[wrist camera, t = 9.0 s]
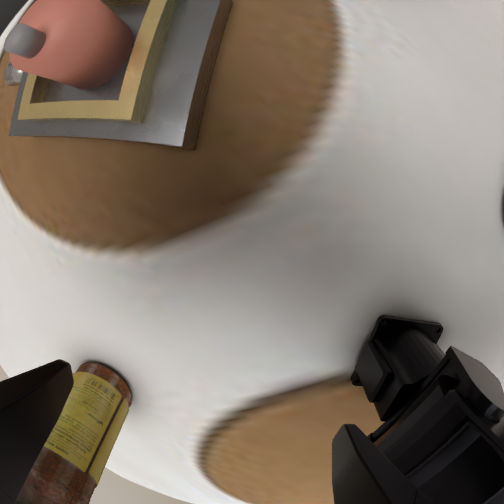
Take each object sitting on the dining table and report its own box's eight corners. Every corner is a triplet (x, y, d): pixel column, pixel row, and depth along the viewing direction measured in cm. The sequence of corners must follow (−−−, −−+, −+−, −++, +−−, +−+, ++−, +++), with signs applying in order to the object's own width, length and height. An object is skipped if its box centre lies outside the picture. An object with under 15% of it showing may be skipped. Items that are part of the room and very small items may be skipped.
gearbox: (232, 2, 14) (224, -34, 10) (194, 149, 17) (173, 144, 13) (45, 21, 14) (15, 6, 9) (13, 136, 17) (-24, 136, 12)
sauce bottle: (68, 359, 22) (-42, 506, 3) (116, 357, 22) (2, 547, 3) (99, 409, 24) (22, 553, 5) (147, 410, 24) (79, 586, 4)
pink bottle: (143, 16, 12) (86, -43, 5) (119, 89, 13) (40, 54, 6) (79, 24, 12) (14, -14, 5) (57, 91, 13) (-22, 73, 6)
